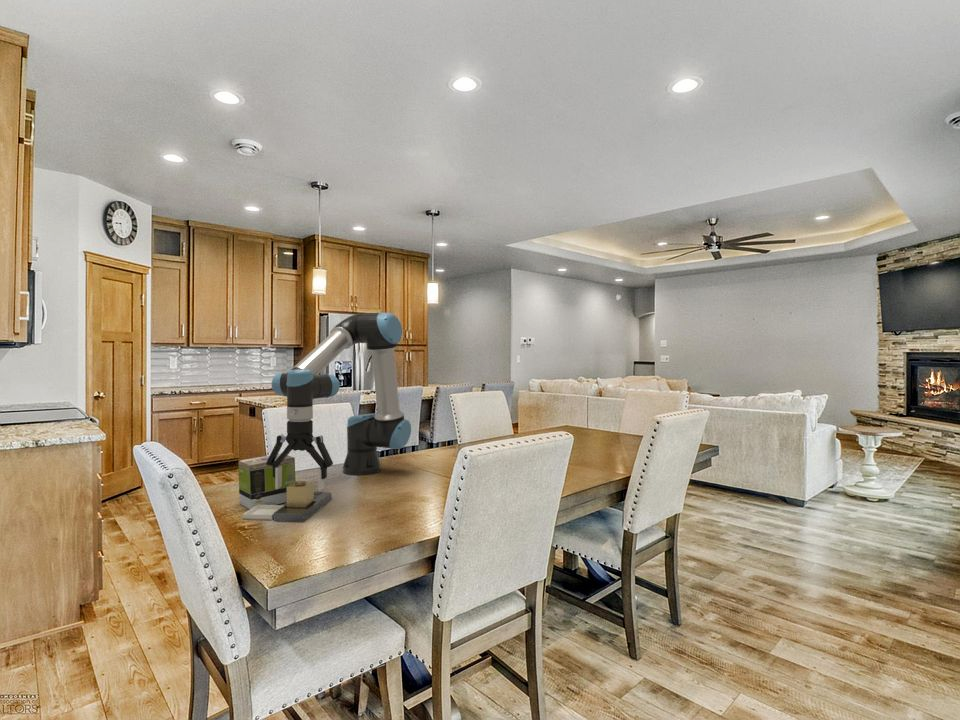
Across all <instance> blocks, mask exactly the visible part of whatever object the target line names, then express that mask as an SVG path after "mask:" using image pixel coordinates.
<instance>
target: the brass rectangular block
mask: <svg viewBox="0 0 960 720" xmlns="http://www.w3.org/2000/svg"><path fill="white" fill-rule="evenodd" d="M314 483H315V482H314V481H306V480H305V481H304V480H296V481H295V482H293V483H292V484H290V485H288V486H287V502H286V504H287V508H291V509H308V508H309V507H311V506H312V505H313V504H314V492H315V490H314V489H315V488H314V487H315V486H314Z"/></svg>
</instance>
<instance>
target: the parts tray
mask: <svg viewBox="0 0 960 720" xmlns="http://www.w3.org/2000/svg"><path fill="white" fill-rule="evenodd" d="M283 506H285V504H284V505H283V504H282V505H279V504H276V505H257V506H255V507H253V508H252V509H247V511H245V512H243V513H242V520H251V521H274V512H276V511H277V510H279V509H280V508H282V507H283Z"/></svg>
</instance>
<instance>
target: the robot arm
mask: <svg viewBox="0 0 960 720" xmlns="http://www.w3.org/2000/svg"><path fill="white" fill-rule="evenodd" d="M402 336H403V328H402V323H401V321H400V319H399V318H398V317H397V315H395V314H394V313H391V312H367V313H365V312H359V313H356V314H352V315H350V316H348V317H346V318H345V319H343V320H341V321H340V322H339V323H337V324H336V325H334V327H332V329H331V330H330V332H329V335H328V336H327V337H325V339H324V340H322V341H321V342H320V343H319V344H318V345H317V346H316V347H315V348H313V349H312V350H311V351H310V352H309V353H308V354H307V355H306V356H304V357H303V358H302V359H301V360H299V362H298V363H296V365H294V367H292V368H291V369H290V370H288V371H287V372H286V373H285V372H281V373H277V374H275V375H274V376H273V377H272V381H271V389H272V391H273V393H274V394H275V395H277V396H280V397H281V396H282V397H286V419H287V420H288V421H287V422H286V435H284V433H283V434H280V435H279V434H278V435H277V436H276V439H275V444H274V446H273V448H272V450H271V452H270V456H269V455H268V456H269V458H268V460H267V463H266V464H267V465H270V466H272V467H273V477H275V489H279V488H280V487H282V466H279V464H280V463H281V462H282V461H283V460H284V459H285V457H286V456H287V455H288V456H289V454H290V453H291V451H301V452H302V451H306V452H307V453H308V454H309V456H311V457H312V459H313V460H314V461H315V462H316V464H317V465H318V466H319V468H318V473H317V475H318V476H317V479H318V481H317V489H318V491H319V492H322V490H323V489H325V480H326V479H327V477H328V468H330V467H332V466H333V465H334V462H333V460H332V457H331V456H330V453H329V451H328V449H327V447H326V444H325V443H324V438H323V437H324V436H323V435H318V436H314V434H313V431H314V430H313V429H314V426H313V425H314V424H313V420H312V419H313V418H314V414H313V413H314V411H313V410H314V409H313V407H314V406H313V405H314V401H313V400H316V399H326V398H327V399H328V398H331V397H334V396H336V395H337V394H338V392H339V391H340V381H339V379H338V378H337V377H336V376H335V375H334V374H328V373H327V374H326V373H325V374H320V373H321V372H322V371H323V370H324V369H325V368H326V367H327V366H328V365H330V363H331V362H332V361H334V360H335V359H336V358H337V357H338V356H339V355H340V354H341V353H343V351H344V350H347V349H350V348H351V347H352V346H353V345H356V344H366V350H367V351H368V352H370V353H371V360H372V370H373V380H374V388H375V389H374V390H375V391H374V392H375V399H376V406H377V407H376V408H377V411H376V413H375V412H374V413H365V414H357V415H352V416H350V417H348V419H347V424H346V431H347V432H346V436H347V437H346V438H347V439H346V441H347V443H346V444H347V446H346V447H347V453H346V456H345V459H344V463H343V465H342V472H343V473H344V474H347V475H351V476H365V475H372V474H377V473H379V472H380V471H381V469H382V467H381V466H382V463H381V460H380V458H379V456H378V455H379V454H378V452H377V448H384V449H392V450H394V449H396V450H397V449H398V450H399V449H402V448H404V447H405V446H406V445H407V444H408V442H409V440H410V437H411V434H412V425H411V422H410V421H409V420H408V419H405V413H404V412H403V411H402V410H401V409H400V400H399V399H400V398H399V391H398V379H397V370H396V360H395V359H396V358H395V350H396V349H397V348H398V343H400V342H401V341H402ZM285 442H286V443H287V446H286V447H285V448H284V449H283V451H282V452H281V453H280V451H281V448H282V446H283V444H284V443H285ZM313 442H314V443H315V444H316V447H317V449H318V450H319V452H318V451H317V449H316V447H315V446H314V444H313ZM278 454H281V455H280V456H279V457H278V458H277V459H276V457H277V455H278ZM275 459H276V461H275Z"/></svg>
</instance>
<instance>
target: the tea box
mask: <svg viewBox="0 0 960 720" xmlns="http://www.w3.org/2000/svg"><path fill="white" fill-rule="evenodd" d="M280 455H281V453H278V455H277V457H276V459H277V458H278V457H279V456H280ZM269 456H270V455H264V456H258V457H252V458H251V457H250V458H245V459H241V460H238V494H239V495H238V496H239V504H240V505H241V506H243V507H244V508H246V509H247V510H250V509H252V508H253V507H255V506H257V505H279V504H284V503H287V486H288V485H290V484H292V483H293V482H295V481H297V480H296V479H297V478H296V460H295V459H296V458H295V457H294V456H291V455H289V454H288V455H287V456H286V457H285V459H284V460H283V461H282V462H281V463H280V464H279V466H282V487H280V488H279V489H275V477H273V467H272V466H270V465H267V464H266V463H267V460H268V458H269ZM276 459H275V461H276Z"/></svg>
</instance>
